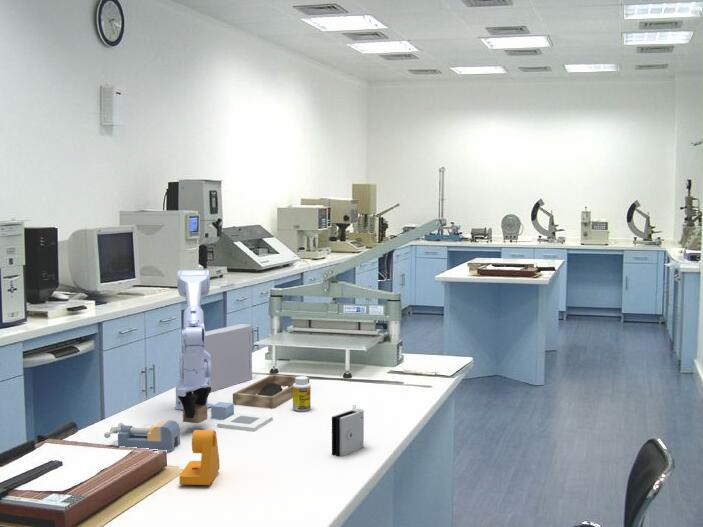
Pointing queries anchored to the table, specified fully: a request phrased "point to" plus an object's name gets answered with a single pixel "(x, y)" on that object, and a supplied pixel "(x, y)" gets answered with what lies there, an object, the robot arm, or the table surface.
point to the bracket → (202, 459)
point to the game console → (229, 355)
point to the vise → (148, 436)
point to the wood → (270, 389)
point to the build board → (245, 421)
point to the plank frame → (251, 399)
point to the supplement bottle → (301, 394)
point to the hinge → (347, 431)
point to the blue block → (222, 410)
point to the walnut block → (197, 414)
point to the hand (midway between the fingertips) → (195, 414)
